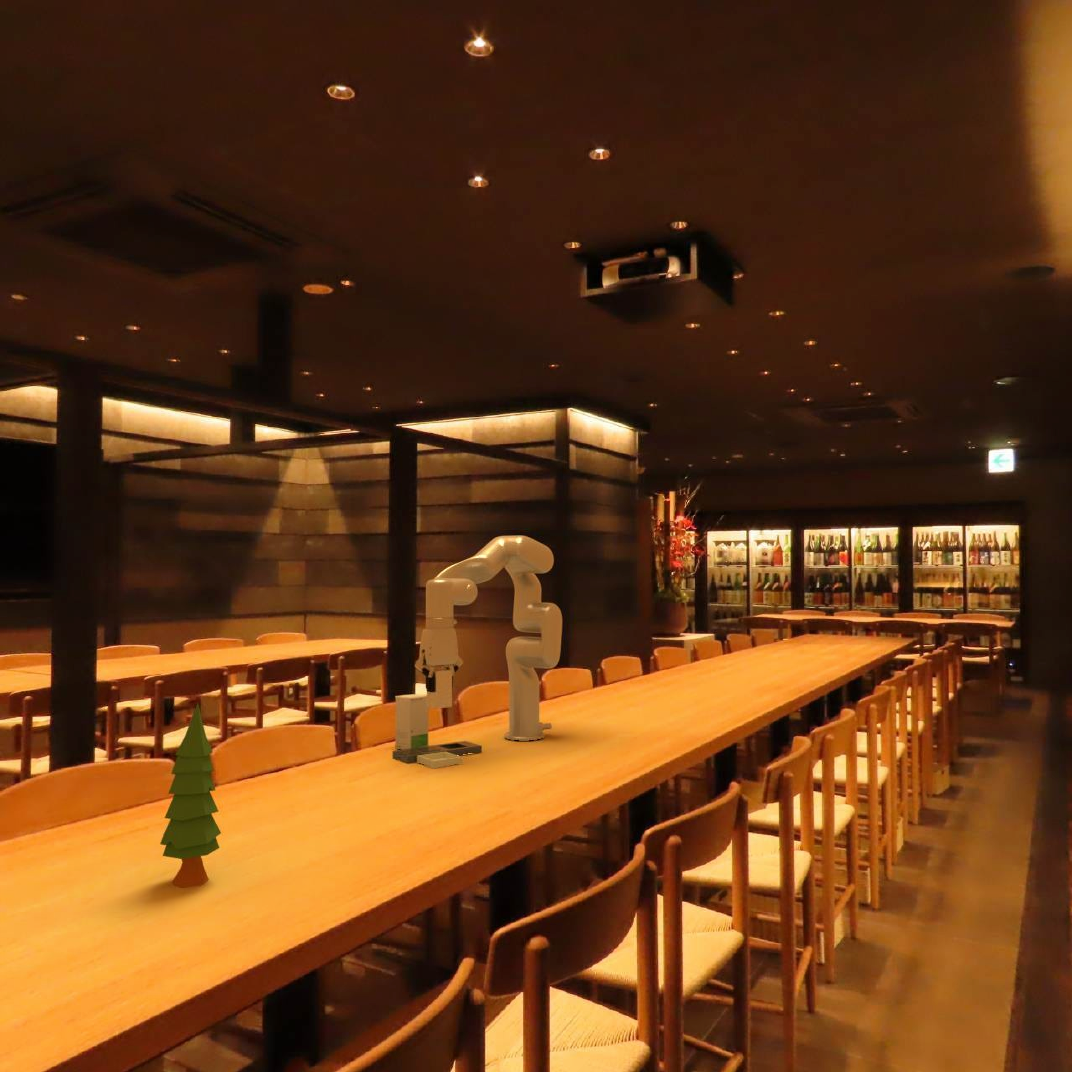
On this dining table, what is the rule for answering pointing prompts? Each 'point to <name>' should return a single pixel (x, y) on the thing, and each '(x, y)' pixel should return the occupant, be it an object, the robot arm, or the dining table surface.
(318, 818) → the dining table surface
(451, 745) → the dark grey slotted base
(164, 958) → the dining table surface
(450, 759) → the tray
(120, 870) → the dining table surface
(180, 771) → the decorative tree
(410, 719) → the skincare box
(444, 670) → the tall white block
